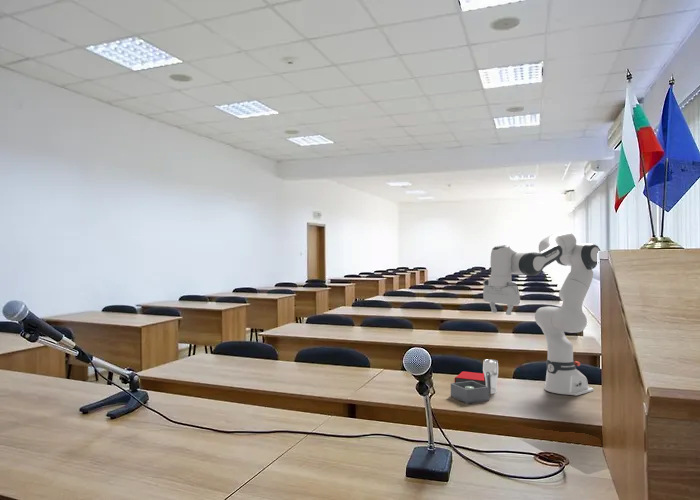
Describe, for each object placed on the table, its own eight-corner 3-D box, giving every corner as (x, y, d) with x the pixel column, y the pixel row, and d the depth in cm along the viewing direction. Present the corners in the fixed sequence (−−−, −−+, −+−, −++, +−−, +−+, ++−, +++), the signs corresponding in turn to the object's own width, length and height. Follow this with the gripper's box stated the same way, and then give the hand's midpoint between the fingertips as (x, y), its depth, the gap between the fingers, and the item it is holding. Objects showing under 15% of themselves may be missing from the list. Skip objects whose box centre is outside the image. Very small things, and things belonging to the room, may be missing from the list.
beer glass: (499, 395, 221) (499, 362, 221) (483, 394, 222) (483, 362, 223) (497, 391, 228) (497, 359, 228) (482, 390, 229) (482, 359, 229)
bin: (472, 393, 224) (472, 380, 224) (488, 400, 213) (488, 387, 213) (450, 396, 219) (450, 383, 219) (466, 403, 208) (466, 389, 208)
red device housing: (496, 384, 240) (496, 374, 241) (491, 391, 228) (491, 381, 228) (461, 380, 249) (461, 371, 249) (454, 387, 236) (454, 377, 236)
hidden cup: (470, 395, 218) (470, 385, 219) (475, 397, 215) (475, 387, 215) (463, 396, 217) (463, 386, 217) (468, 398, 213) (468, 388, 213)
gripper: (523, 283, 202) (523, 315, 201) (491, 281, 221) (492, 311, 220) (511, 283, 199) (511, 316, 199) (480, 281, 218) (480, 311, 218)
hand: (501, 313), depth 210 cm, fingers open, 8 cm apart
